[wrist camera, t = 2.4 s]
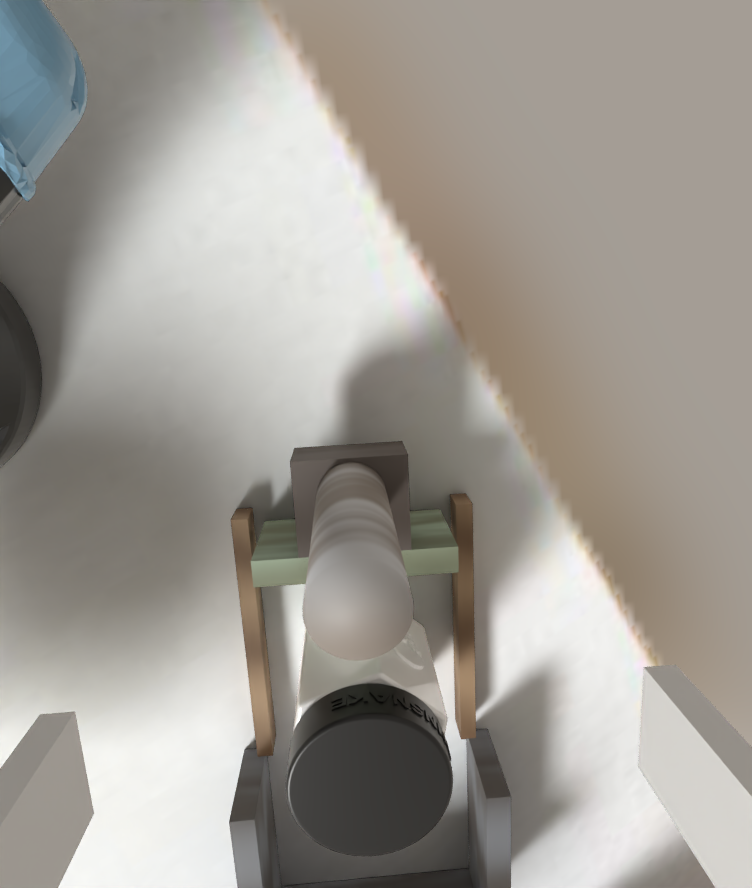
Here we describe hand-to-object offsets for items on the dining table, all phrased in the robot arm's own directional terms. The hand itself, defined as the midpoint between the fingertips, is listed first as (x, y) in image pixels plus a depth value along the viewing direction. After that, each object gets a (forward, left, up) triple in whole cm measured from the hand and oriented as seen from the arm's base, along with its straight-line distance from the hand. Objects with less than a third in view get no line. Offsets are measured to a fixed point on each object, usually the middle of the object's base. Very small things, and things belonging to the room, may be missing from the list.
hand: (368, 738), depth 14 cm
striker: (+1, 0, -24) cm, 24 cm away
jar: (+13, 0, -24) cm, 28 cm away
